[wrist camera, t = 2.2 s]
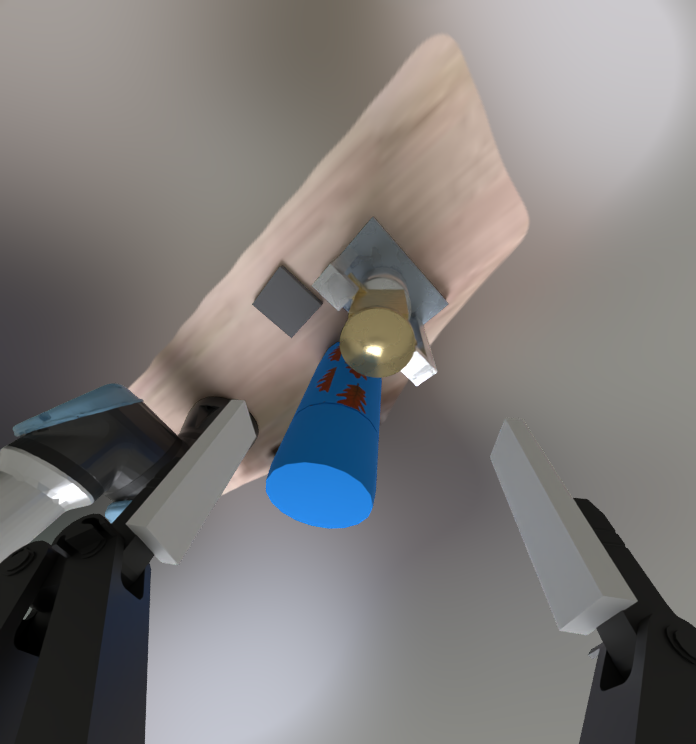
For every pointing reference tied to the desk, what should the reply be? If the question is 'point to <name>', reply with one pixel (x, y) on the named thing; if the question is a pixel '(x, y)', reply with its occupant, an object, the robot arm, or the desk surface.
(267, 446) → the desk surface
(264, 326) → the desk surface
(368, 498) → the thermos
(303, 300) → the rubber mat
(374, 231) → the grey metal stand
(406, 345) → the brass cap
